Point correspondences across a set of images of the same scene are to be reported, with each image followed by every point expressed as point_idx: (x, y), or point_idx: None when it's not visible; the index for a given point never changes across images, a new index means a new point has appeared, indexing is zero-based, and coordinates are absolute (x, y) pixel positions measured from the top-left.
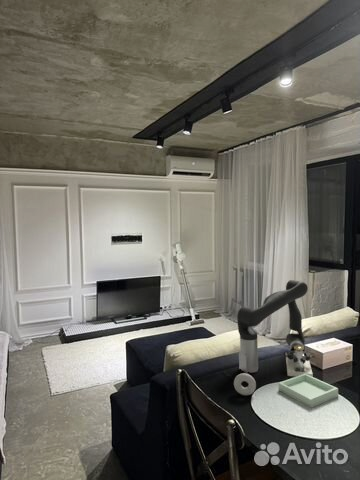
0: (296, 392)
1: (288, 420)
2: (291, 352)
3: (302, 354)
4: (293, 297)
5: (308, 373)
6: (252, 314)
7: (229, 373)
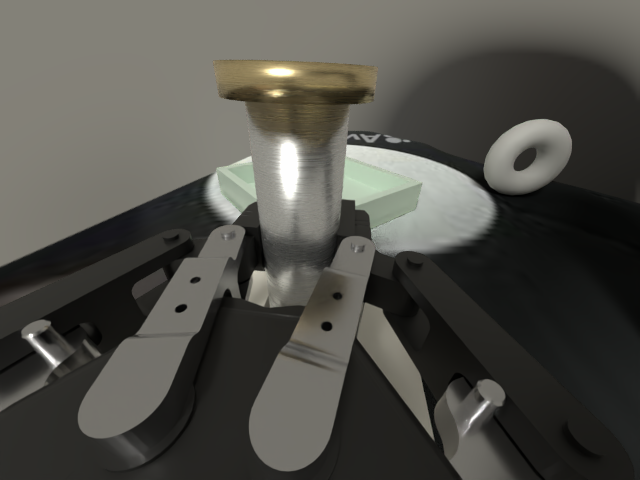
0: (358, 161)
1: (375, 156)
2: (418, 420)
3: (216, 259)
4: None
5: (254, 273)
6: None
7: None
